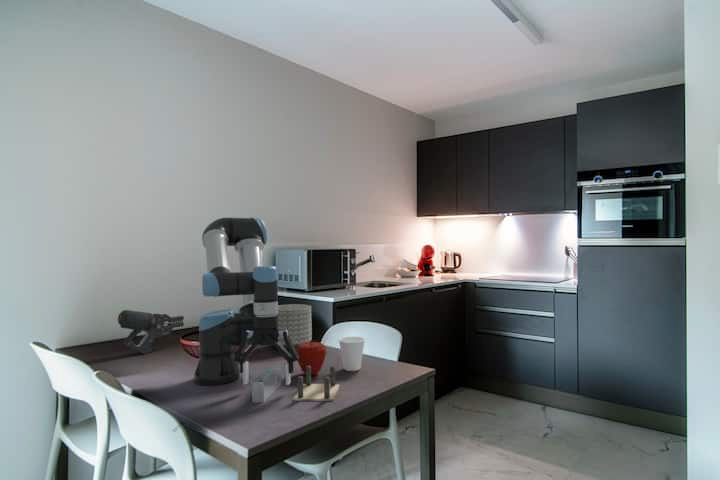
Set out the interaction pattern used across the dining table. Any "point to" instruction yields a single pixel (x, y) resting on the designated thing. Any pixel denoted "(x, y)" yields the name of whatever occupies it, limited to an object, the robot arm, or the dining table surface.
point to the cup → (352, 352)
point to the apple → (311, 356)
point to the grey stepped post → (266, 383)
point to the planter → (295, 323)
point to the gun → (147, 327)
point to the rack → (317, 388)
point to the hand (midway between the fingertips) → (267, 383)
